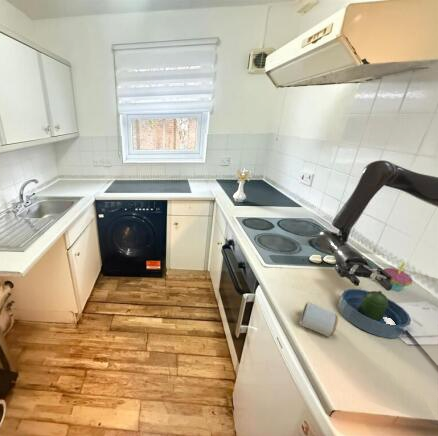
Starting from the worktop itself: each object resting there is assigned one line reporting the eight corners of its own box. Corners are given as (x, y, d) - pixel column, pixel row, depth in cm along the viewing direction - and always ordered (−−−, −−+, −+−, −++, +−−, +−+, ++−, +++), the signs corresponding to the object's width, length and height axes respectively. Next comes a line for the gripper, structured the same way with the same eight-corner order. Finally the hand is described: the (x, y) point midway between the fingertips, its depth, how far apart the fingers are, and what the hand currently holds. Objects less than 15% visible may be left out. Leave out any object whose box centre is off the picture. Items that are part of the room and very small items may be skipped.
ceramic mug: (331, 343, 68) (339, 323, 65) (298, 329, 73) (305, 310, 70) (331, 320, 76) (338, 301, 73) (301, 309, 81) (307, 291, 78)
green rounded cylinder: (374, 311, 79) (385, 287, 75) (384, 324, 74) (397, 299, 70) (354, 308, 80) (364, 284, 76) (362, 321, 75) (374, 295, 71)
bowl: (383, 305, 82) (389, 293, 80) (418, 344, 68) (426, 332, 66) (329, 296, 86) (333, 285, 84) (351, 332, 72) (357, 319, 70)
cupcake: (407, 297, 86) (422, 269, 81) (376, 286, 91) (388, 260, 86) (406, 285, 91) (419, 259, 87) (376, 276, 97) (388, 251, 92)
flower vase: (230, 204, 179) (235, 171, 169) (230, 196, 195) (235, 166, 185) (249, 205, 175) (255, 172, 165) (247, 198, 191) (252, 167, 181)
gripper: (330, 248, 91) (351, 272, 76) (375, 253, 87) (405, 280, 73) (324, 264, 94) (344, 291, 79) (367, 270, 90) (395, 299, 76)
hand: (373, 286), depth 76 cm, fingers open, 8 cm apart
